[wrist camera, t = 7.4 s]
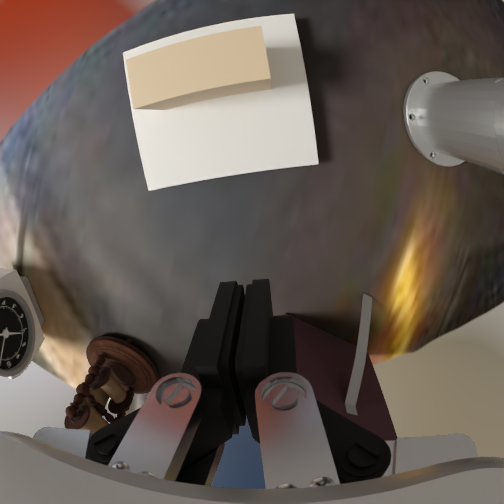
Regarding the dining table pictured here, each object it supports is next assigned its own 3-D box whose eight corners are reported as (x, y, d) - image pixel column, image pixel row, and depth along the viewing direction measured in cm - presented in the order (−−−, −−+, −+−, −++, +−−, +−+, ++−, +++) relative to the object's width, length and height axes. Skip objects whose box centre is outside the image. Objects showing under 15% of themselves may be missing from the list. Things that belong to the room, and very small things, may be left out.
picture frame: (281, 317, 42) (283, 480, 20) (321, 267, 38) (364, 437, 16) (362, 354, 45) (396, 487, 23) (401, 314, 41) (463, 448, 19)
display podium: (292, 19, 25) (293, 13, 23) (316, 161, 33) (318, 164, 31) (130, 55, 28) (123, 52, 26) (154, 186, 35) (148, 190, 33)
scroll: (79, 335, 48) (29, 410, 30) (133, 325, 45) (83, 419, 27) (118, 385, 54) (85, 459, 36) (173, 382, 51) (146, 470, 33)
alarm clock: (56, 335, 49) (7, 403, 31) (31, 329, 50) (-16, 389, 31) (26, 259, 42) (-45, 321, 23) (2, 258, 42) (-62, 312, 24)
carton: (270, 89, 28) (263, 47, 25) (270, 78, 20) (261, 25, 18) (164, 110, 29) (157, 70, 27) (133, 109, 22) (125, 59, 20)
